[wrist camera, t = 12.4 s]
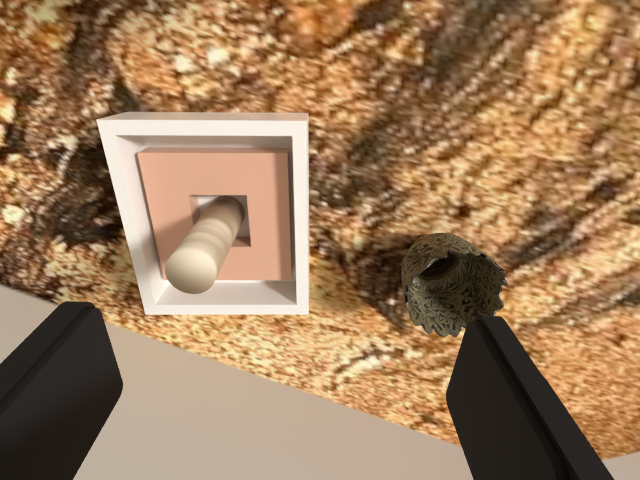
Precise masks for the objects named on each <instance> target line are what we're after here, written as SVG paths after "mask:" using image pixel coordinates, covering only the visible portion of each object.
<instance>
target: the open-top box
mask: <svg viewBox="0 0 640 480" xmlns="http://www.w3.org/2000/svg"><path fill="white" fill-rule="evenodd" d="M97 124H98V128H99V132H100V136H101V140H102V144H103V148H104V152H105V156H106V160H107V164H108V167H109V171H110V175H111V179H112V183H113V187H114V191H115V195H116V199H117V203H118V207H119V211H120V215H121V219H122V223H123V227H124V231H125V235H126V239H127V243H128V247H129V251H130V255H131V259H132V263H133V267H134V271H135V275H136V279H137V283H138V287H139V291H140V295H141V299H142V302H143V306H144V310H145V314H309V157H308V113H247V112H125V113H121V114H117V115H113V116H109V117H105V118H101V119H97ZM148 147H244V148H289V160H290V193H291V226H292V259H293V271H292V280H215V282H214V284H213V285H212V287H211V288H210V289H209V290H207V291H205V292H203V293H200V294H188V293H184V292H181V291H179V290H178V289H176V288H175V287H173V286H172V285H171V284H170V282H169V281H168V280H164V276H163V271H162V267H161V262H160V257H159V253H158V248H157V243H156V239H155V234H154V229H153V224H152V220H151V215H150V210H149V206H148V201H147V196H146V192H145V187H144V182H143V177H142V173H141V168H140V163H139V159H138V154H137V152H140V151H142V150H144V149H146V148H148ZM197 196H198V203H199V210H200V216H202V214H203V213H204V212H205V210H206V209H207V208H208V206H209V205H210V204H211V202H212V201H213V200H214V199H215V198H217V197H219V196H231V197H234V198H235V199H237V200H238V201H239V202H240V203H241V204H242V206H243V208H244V211H245V216H244V220H243V222H242V224H241V226H240V228H239V230H238V232H237V235H236V237H250V227H249V216H248V204H247V195H197Z"/></svg>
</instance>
